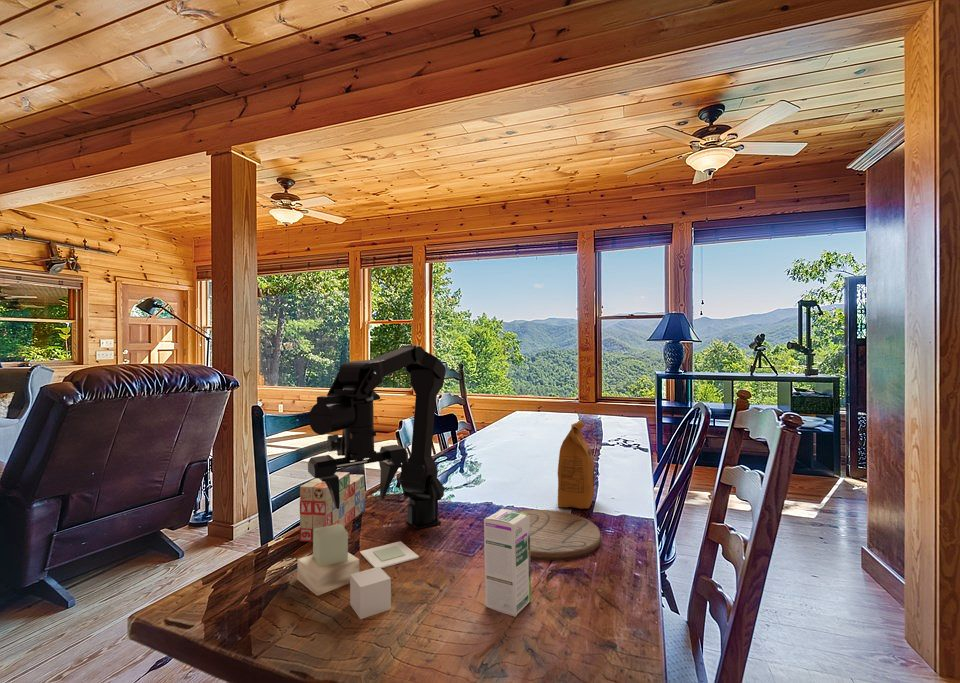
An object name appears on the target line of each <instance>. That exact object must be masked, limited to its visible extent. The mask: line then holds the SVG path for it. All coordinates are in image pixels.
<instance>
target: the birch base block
mask: <svg viewBox="0 0 960 683" xmlns="http://www.w3.org/2000/svg"><path fill="white" fill-rule="evenodd" d="M296 570H297V574H296V575H297V578H296V579H297V581H299V582H300V583H301V584H302V585H304V586H305V587H306V588H307V589H308V590H309V591H311V592H312V593H313V594H314V595H315V596H317V597H318V596H321V595H323V594H325V593H328V592H330V591H333V590H334V591H335V590H336V589H339V588H340V587H343V586H346V585H350V574H353V573H357V572H360V558H358V557H356V556H355V555H353V554H351V553H350V552H348V561H344V562H339V563H335V564H331V565H327V566H323V567H319V566H318V564H317V562H316V561H315V559H314V557H313V553H312V554H310V555H307V556H304V557H301V558H297V569H296Z"/></svg>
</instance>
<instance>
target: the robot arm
mask: <svg viewBox="0 0 960 683" xmlns="http://www.w3.org/2000/svg"><path fill="white" fill-rule="evenodd" d="M402 369H403V370H404V371H405V372H406V373H407V374H408V375H409V376H410V378H409V379H410V386H411V388H412V391H413V392H414V394H415V400H414V413H413V424H412V425H413V426H412V435H411V436H412V438H411V449H410V455H409V452H408V450H407V449H406V448H405V447H402V446H401V445H398V444H391V445H385V446H381V447H380V449H379V451H376V450H375V437H377V430H376V429H374V428H375V425H374V422H375V417H374V401H378V400H380V399H381V396H380V395H379V394H378V393H377V392H376V391H374V390H375V389H376V388H378V387H379V386H380V385H381V384H382V383H384V378H386V377H387V376H389V375H392V374H393V373H396V372H398V371H401V370H402ZM446 373H447V370H446V366H445V364H444V363H443V362H442V361H441V359H439V358H438V357H437V356H436V355H434V354H431V353H429V352H428V351H426V350H425V349H424V348H423V347H422V346H420V345H417V344H415V345H414V344H412V345H411V344H409V345H407V344H405V345H402V346H400V347H399V348H397V349H394V350H392V351H388V352H386V353H384V354H381V355H379V356H378V357H377V356H376V357H374V358H371V359H366V360H365V359H364V360H353V361H346V362H343V363H342V364H340V366H339V370H338V372H337V374H336V376H335V378H334V380H333V381H332V384H331V385H330V388H329V390H328V391H327V394H326V395H321V396H317V397H316V403H315V404H314V405H313V406H312V407H311V408H310V411H309V414H308V424H309V426H310V428H311V430H312V431H313V432H314V433H315V434H317V435H319V436H320V435H321V436H323V435H326V434H330V433H334V432H338V431H342V434H341V435H342V437H339V434H330V435H328V436H327V439H326V440H327V444H326V445H327V450H328V452H330V453H331V452H336V454H337V456H342V457H339V458H334V457H332V456H331V455H329V454H324V455H319V456H313V457H310V458H309V460H308V462H307V472H308V473H309V474H310V475H311V476H312V477H313V479H315V478H319V479H320V480H321V481H322V482H325V483H326V485H327V487H328V489H329V491H330V494H331V497H332V499H333V502H334V505H335V507H336V509H339V505H340V495H339V477H338V476H337V475H336V474H335V473H336V472H338V469H344V468H349V467H355V466H360V465H361V466H362V465H366V464H371V463H377V462H378V464H379V469H380V478H379V479H380V480H379V481H380V482H379V483H380V484H379V494H380V495H379V496H380V497H379V498H380V499H381V500H384V499H385V498H386V495H387V493H388V491H389V488H390V486H391V483H392V481H393V479H394V478H395V477H396V476H395V475H396V474H397V473H398V470H399V469H400V470H401V471H400V476H399V481H400V487H401V490H402V494H403V497H404V498H409V499H408V500H409V503H408V504H407V518H406V519H405V520H406V522H407V523H408V524H410V525H411V526H412V527H414V528H415V529H417V530H419V529H424V528H428V527H433V526H436V525H441V524H442V520H440V519H439V501H441V500H442V498H443V497H444V496H445V487H444V485H443V484H442V482H441V481H440V480H439V477H438V467H437V465H436V462H435V461H434V459H433V458H434V457H433V456H432V454H433V441H434V439H433V438H434V428H435V415H436V414H435V413H436V401H437V395H439V392H440V391H441V390H442V388H443V386H444V383H445V377H446ZM343 456H344V457H343Z"/></svg>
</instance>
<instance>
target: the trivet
mask: <svg viewBox="0 0 960 683" xmlns="http://www.w3.org/2000/svg"><path fill="white" fill-rule="evenodd" d="M519 511H520V512H523V513H526V514H529V516H530V560H531V559H532V560H537V561H538V560H541V561H542V560H543V561H563V560H572V559H576V558H581V557H584V556H586V555H588V554H590V553H591V554H592V553H593V552H594V551H595V550H596V549H598V548H599V546H600V543H601V532H600V529H599V527H598V525H596V524H595V523H594V522H592V521H591V520H588V519H586V518H585V517H582V516H579V515H577V514H574V513H570V512H565V511H560V510H554V509H553V510H552V509H551V510H550V509H521V510H519Z"/></svg>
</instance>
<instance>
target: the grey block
mask: <svg viewBox="0 0 960 683" xmlns="http://www.w3.org/2000/svg"><path fill="white" fill-rule="evenodd" d="M391 579H392V578H391V577H390V576H389V575H388V574H387V572H386V571H385V570H383V568H380V567H375V568H374V567H372V568H368V569H365V570H362V571H359V572H357V573H353V574H350V583H349V585H350V586H349V587H350V588H349V593H350V594H349V596H350V597H349V604H350V606H351V608H352V609H353V611H354V612H355V613H356V615H357V617H358V618H359V619H360V620H362V619H365V618H369V617H372V616H374V615H378V614H382V613H384V612H387V611H389V610H390V611H391V609H392V607H391V606H392V605H391V603H392V602H391V600H392V597H391V596H392V594H391V593H392V592H391V591H392V588H391V587H392V586H391V584H392V582H391V581H392V580H391Z"/></svg>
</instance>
